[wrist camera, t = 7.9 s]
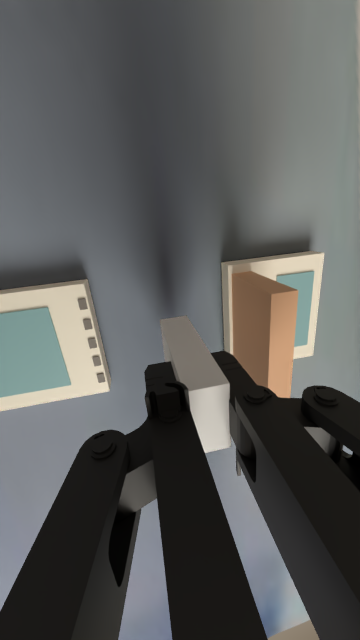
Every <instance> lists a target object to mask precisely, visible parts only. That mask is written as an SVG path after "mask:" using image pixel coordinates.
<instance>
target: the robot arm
mask: <svg viewBox="0 0 360 640" xmlns="http://www.w3.org/2000/svg"><path fill="white" fill-rule="evenodd" d="M160 325H161V333H162V340H163V348H164V356H165V362H163V363H157V364H152V365H148V367H147V369H146V370H145V372H144V373H145V382H146V391H147V392H146V394H145V402H146V407H147V413H148V417H147V419H146V421H145V422H144V423H143V424H142V425H141V426H140V427H139V428H138V429H136V430H134V431H133V432H131V433H129V434H127V435H124V434H123V433H121V432H119V431H116V430H106V431H101V432H99V433H97V434H95V435H93V436H92V437H90V438H89V439H88V440H87V441H85V443H84V444H83V445H82V447H81V448H80V450H79V452H78V454H77V456H76V458H75V460H74V462H73V464H72V466H71V468H70V470H69V472H68V474H67V476H66V479H65V481H64V483H63V485H62V487H61V489H60V491H59V493H58V495H57V497H56V499H55V501H54V503H53V505H52V507H51V509H50V511H49V513H48V515H47V517H46V519H45V521H44V523H43V525H42V527H41V529H40V532H39V534H38V536H37V538H36V540H35V542H34V544H33V546H32V548H31V550H30V552H29V554H28V556H27V558H26V560H25V562H24V564H23V566H22V568H21V570H20V572H19V574H18V576H17V578H16V580H15V583H14V585H13V587H12V589H11V591H10V593H9V595H8V597H7V599H6V601H5V603H4V605H3V607H2V609H1V611H0V640H118V637H119V631H120V626H121V620H122V615H123V609H124V603H125V598H126V592H127V587H128V581H129V575H130V570H131V564H132V559H133V553H134V547H135V542H136V536H137V531H138V525H139V519H140V514H141V508H142V507H144V506H145V505H147V504H148V503H150V502H151V501H153V500H155V499H156V498H157V501H158V510H159V520H160V529H161V538H162V547H163V557H164V566H165V575H166V584H167V593H168V603H169V612H170V621H171V630H172V640H268V639H267V636H266V633H265V630H264V627H263V624H262V621H261V619H260V616H259V613H258V610H257V607H256V604H255V601H254V598H253V595H252V592H251V589H250V586H249V583H248V580H247V577H246V574H245V571H244V568H243V565H242V562H241V559H240V556H239V553H238V550H237V547H236V544H235V541H234V538H233V536H232V533H231V530H230V527H229V524H228V521H227V518H226V515H225V512H224V509H223V506H222V503H221V500H220V497H219V494H218V491H217V488H216V485H215V482H214V479H213V476H212V473H211V470H210V467H209V464H208V461H207V458H206V455H205V453H207V452H211V451H216V450H220V449H224V448H229V447H231V437H232V439H233V441H234V443H235V445H236V471H237V475H238V476H240V475H241V469H242V471H243V473H244V475H245V478H246V480H247V482H248V484H249V486H250V489H251V491H252V493H253V495H254V497H255V499H256V502H257V504H258V506H259V508H260V510H261V513H262V515H263V517H264V519H265V521H266V523H267V526H268V528H269V530H270V532H271V534H272V536H273V539H274V541H275V543H276V545H277V547H278V550H279V552H280V554H281V556H282V558H283V560H284V563H285V565H286V567H287V569H288V571H289V573H290V576H291V578H292V580H293V582H294V584H295V587H296V589H297V591H298V593H299V595H300V597H301V600H302V602H303V604H304V606H305V608H306V611H307V613H308V615H309V617H310V619H311V621H312V624H313V626H314V628H315V630H316V632H317V634H318V636H319V639H320V640H360V402H358V401H356V400H354V399H353V398H351V397H349V396H347V395H346V394H344V393H342V392H340V391H338V390H336V389H333V388H331V387H326V386H311V387H307V388H306V389H305V390H304V391H303V394H302V398H281V397H278V396H277V395H276V394H275V393H274V392H273V391H271V390H270V389H269V388H266V387H264V386H260V385H257V384H256V383H255V382H254V381H253V379H252V378H251V377H250V376H249V374H248V373H247V372H246V371H245V369H244V368H242V366H241V364H240V363H238V361H237V359H236V358H235V357H234V356H233V355H232V354H230V353H228V352H226V351H220V352H214V353H210V352H209V350H208V349H207V347H206V345H205V344H204V342H203V341H202V339H201V338H200V336H199V334H198V333H197V331H196V330H195V328H194V327H193V325H192V323H191V322H190V320H189V319H188V317H187V316H180V317H174V318H167V319H161V320H160ZM343 445H345V446H346V447H347V448H349V449H350V450H351V451H353V455H350V454H348V453H346V452H344V451H343V450H342V449H343Z"/></svg>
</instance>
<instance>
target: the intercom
mask: <svg viewBox="0 0 360 640" xmlns="http://www.w3.org/2000/svg"><path fill="white" fill-rule="evenodd" d="M323 260H324V253H321V252H315V251H307V252H299V253H292V254H284V255H276V256H268V257H260V258H252V259H245V260H237V261H229V262H221V270H222V298H223V326H224V351H226V352H228V353H230V354H232V355H233V356H234V357H235V358H236V359H237V361H238V363H240V364H241V366H242V368H244V369H245V371H246V372H247V373H248V374H249V376H250V377H251V378H252V379H253V381H254V382H255V383H256V384H257V385H260V386H264V387H266V388H269V389H270V390H271V391H273V392H274V393H275V394H276V395H277V396H278V397H281V398H290V393H291V380H292V367H293V359H296V358H302V357H307V356H313V350H314V341H315V332H316V323H317V314H318V305H319V296H320V287H321V278H322V269H323Z"/></svg>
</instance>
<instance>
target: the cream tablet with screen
mask: <svg viewBox="0 0 360 640" xmlns="http://www.w3.org/2000/svg"><path fill="white" fill-rule="evenodd" d="M110 385H111V378H110V374H109V369H108V365H107V361H106V357H105V352H104V348H103V344H102V339H101V335H100V331H99V326H98V322H97V318H96V314H95V309H94V305H93V301H92V296H91V292H90V288H89V284H88V279H84V280H76V281H68V282H60V283H53V284H45V285H37V286H29V287H21V288H13V289H5V290H0V411H4V410H10V409H15V408H20V407H26V406H31V405H37V404H42V403H48V402H53V401H59V400H64V399H70V398H75V397H81V396H86V395H92V394H97V393H103V392H108V391H110Z"/></svg>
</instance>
